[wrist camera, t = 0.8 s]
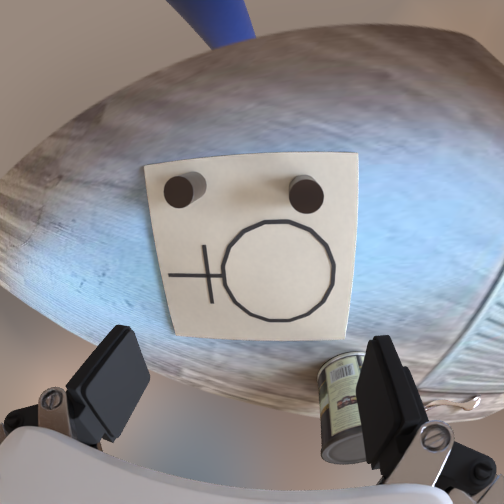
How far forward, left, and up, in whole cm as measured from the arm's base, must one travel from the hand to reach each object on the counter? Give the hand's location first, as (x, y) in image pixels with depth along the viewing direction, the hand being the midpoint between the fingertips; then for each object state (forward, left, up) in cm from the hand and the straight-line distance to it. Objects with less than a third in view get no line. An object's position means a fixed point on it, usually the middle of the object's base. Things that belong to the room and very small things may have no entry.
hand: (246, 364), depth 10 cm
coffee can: (+25, +11, -22) cm, 35 cm away
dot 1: (-4, -9, -22) cm, 24 cm away
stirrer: (+39, +38, -22) cm, 59 cm away
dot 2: (-3, +3, -22) cm, 22 cm away
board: (+5, -3, -22) cm, 23 cm away
